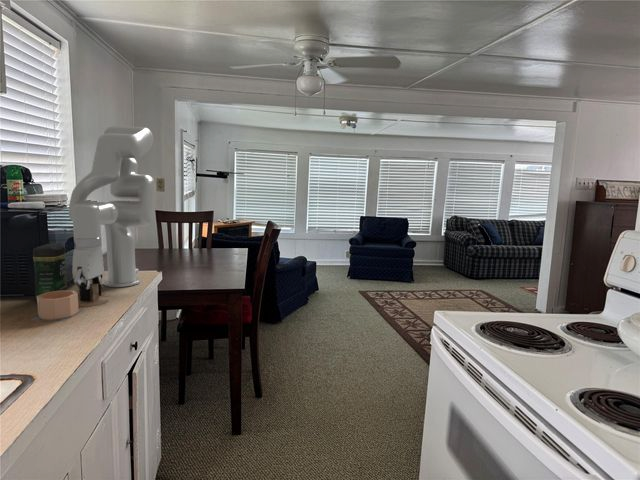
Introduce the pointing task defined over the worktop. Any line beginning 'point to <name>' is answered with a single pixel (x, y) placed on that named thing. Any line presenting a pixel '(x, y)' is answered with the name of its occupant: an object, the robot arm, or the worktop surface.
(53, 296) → the bowl
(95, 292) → the lid
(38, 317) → the mat
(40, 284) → the coffee jar
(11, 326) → the worktop surface
